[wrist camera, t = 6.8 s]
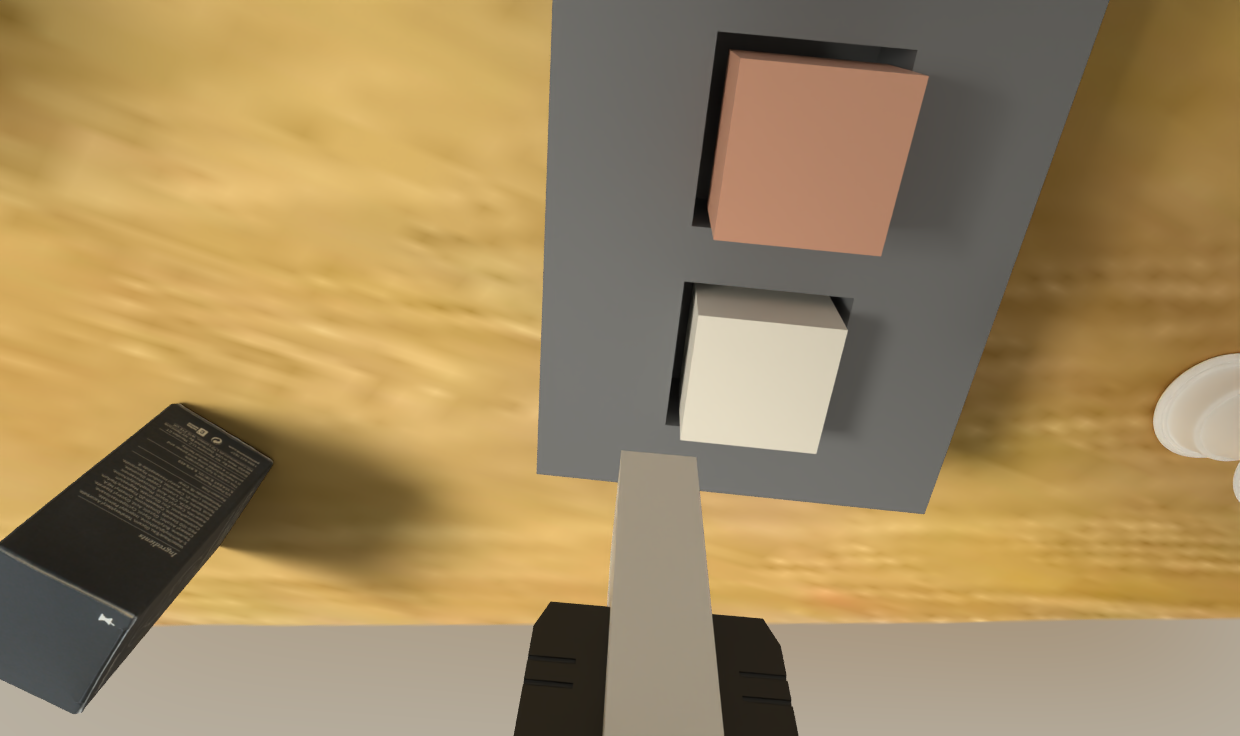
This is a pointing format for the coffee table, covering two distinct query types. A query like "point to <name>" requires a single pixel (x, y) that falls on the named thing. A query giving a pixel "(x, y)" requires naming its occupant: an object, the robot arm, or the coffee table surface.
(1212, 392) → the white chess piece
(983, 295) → the key panel
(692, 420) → the ivory key
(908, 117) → the terracotta key
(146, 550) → the box
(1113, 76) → the coffee table surface
